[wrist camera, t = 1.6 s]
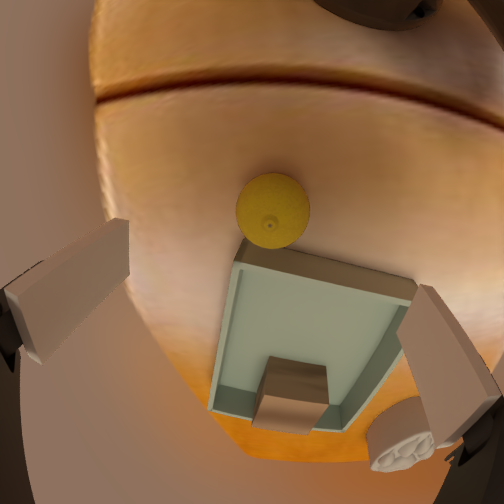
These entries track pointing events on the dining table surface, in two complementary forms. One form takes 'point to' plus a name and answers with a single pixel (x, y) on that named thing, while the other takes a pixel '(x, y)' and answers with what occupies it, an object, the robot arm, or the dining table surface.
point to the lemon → (272, 210)
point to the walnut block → (290, 396)
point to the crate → (308, 329)
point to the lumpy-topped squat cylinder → (400, 437)
